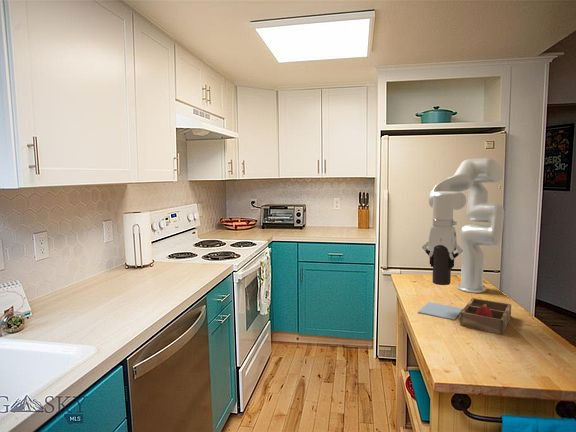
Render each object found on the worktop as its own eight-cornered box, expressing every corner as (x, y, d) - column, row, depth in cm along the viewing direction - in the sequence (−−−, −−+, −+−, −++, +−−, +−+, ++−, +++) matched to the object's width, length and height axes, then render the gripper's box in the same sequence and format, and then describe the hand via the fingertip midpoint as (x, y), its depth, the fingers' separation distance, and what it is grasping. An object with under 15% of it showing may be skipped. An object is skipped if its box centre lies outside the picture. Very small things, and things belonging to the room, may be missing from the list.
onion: (484, 329, 137) (485, 308, 136) (471, 323, 142) (472, 303, 141) (496, 326, 139) (496, 305, 138) (482, 321, 144) (483, 300, 144)
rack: (471, 309, 157) (472, 297, 156) (510, 316, 148) (511, 304, 148) (460, 325, 141) (460, 312, 140) (502, 334, 133) (503, 320, 132)
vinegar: (430, 280, 158) (431, 233, 155) (446, 280, 157) (447, 233, 155) (435, 285, 151) (437, 236, 149) (453, 285, 151) (454, 235, 148)
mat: (428, 303, 165) (428, 302, 165) (462, 309, 157) (463, 308, 157) (417, 312, 154) (418, 311, 154) (454, 320, 146) (454, 319, 146)
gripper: (468, 223, 149) (466, 268, 151) (423, 221, 160) (423, 262, 162) (463, 226, 143) (462, 272, 145) (417, 223, 154) (417, 266, 156)
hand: (441, 267), depth 154 cm, fingers closed on vinegar, 6 cm apart
